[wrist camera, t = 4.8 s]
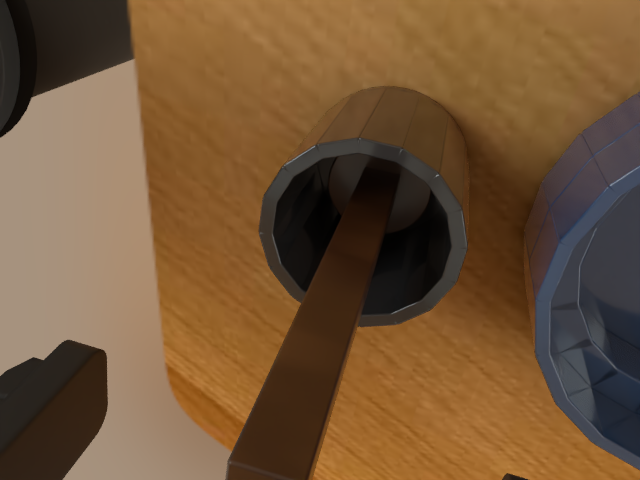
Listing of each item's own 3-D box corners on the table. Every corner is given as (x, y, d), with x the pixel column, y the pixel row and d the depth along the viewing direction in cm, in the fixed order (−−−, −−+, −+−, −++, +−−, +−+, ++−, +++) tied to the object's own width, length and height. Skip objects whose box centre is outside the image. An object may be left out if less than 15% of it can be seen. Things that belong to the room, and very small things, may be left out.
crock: (300, 215, 27) (250, 298, 21) (324, 69, 24) (272, 117, 18) (444, 251, 26) (435, 348, 20) (489, 106, 23) (493, 168, 17)
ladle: (330, 201, 26) (151, 537, 12) (347, 111, 24) (156, 382, 10) (421, 223, 25) (352, 603, 11) (446, 134, 23) (400, 455, 9)
